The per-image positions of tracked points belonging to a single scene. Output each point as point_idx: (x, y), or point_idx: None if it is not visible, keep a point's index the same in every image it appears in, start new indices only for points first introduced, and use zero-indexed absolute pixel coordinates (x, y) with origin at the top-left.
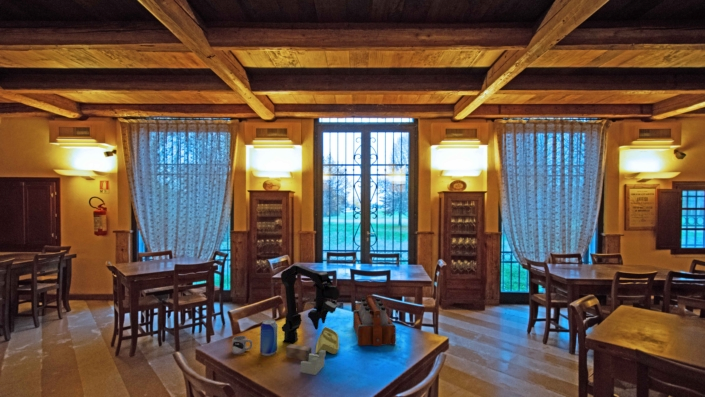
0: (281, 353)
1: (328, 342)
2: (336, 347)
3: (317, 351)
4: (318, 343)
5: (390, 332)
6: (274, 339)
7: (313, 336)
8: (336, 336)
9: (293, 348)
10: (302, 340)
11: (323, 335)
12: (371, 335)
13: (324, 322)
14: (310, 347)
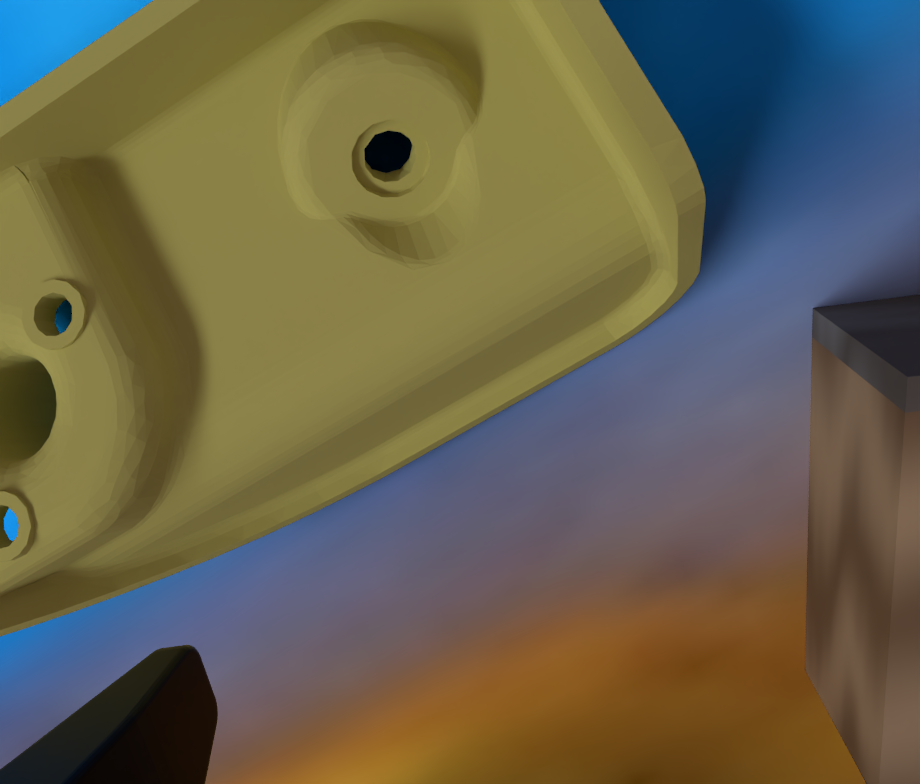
0: (842, 768)
1: (250, 274)
2: (278, 10)
3: (688, 280)
4: (329, 469)
5: None
6: None
7: (63, 709)
8: None
9: None
10: (297, 764)
11: (144, 499)
12: None
13: (163, 663)
14: (917, 393)
